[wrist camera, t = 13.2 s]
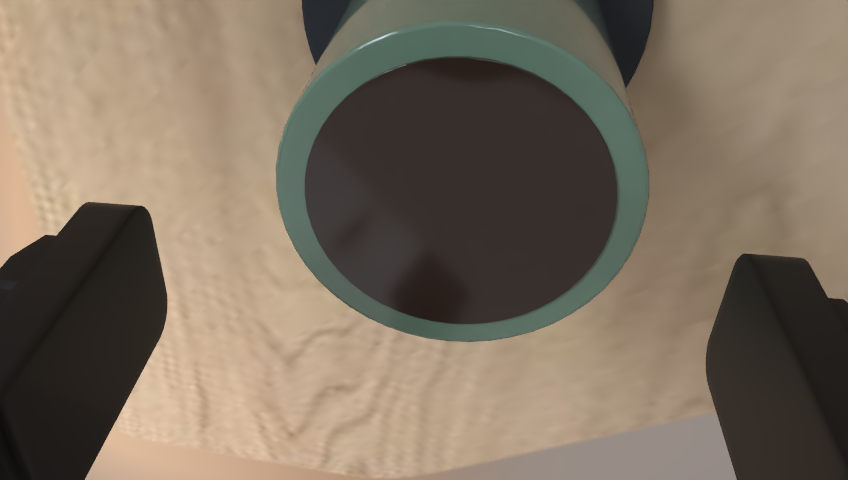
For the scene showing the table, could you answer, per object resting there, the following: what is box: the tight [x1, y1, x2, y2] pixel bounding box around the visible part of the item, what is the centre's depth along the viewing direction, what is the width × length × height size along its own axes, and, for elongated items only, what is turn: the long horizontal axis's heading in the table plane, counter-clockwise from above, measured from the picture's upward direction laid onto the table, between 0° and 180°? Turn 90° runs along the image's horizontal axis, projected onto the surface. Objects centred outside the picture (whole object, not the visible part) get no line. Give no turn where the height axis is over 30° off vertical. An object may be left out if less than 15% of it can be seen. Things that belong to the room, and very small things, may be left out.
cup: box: [276, 0, 649, 342], centre depth 16 cm, size 6×6×9 cm
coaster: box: [302, 0, 653, 88], centre depth 20 cm, size 9×9×1 cm
